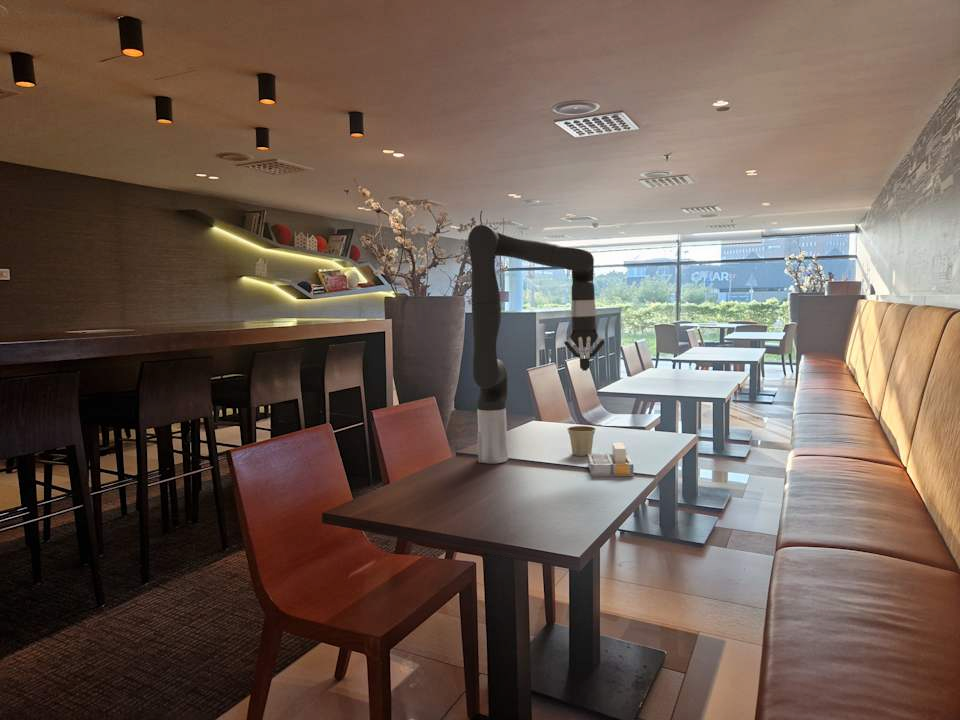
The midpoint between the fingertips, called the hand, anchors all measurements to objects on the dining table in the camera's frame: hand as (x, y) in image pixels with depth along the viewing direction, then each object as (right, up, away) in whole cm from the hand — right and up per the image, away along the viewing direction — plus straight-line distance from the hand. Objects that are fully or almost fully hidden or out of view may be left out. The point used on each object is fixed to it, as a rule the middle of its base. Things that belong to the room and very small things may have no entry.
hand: (584, 370), depth 196 cm
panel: (+9, -29, -10) cm, 32 cm away
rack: (+6, -30, -9) cm, 32 cm away
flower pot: (+1, -28, +12) cm, 31 cm away
